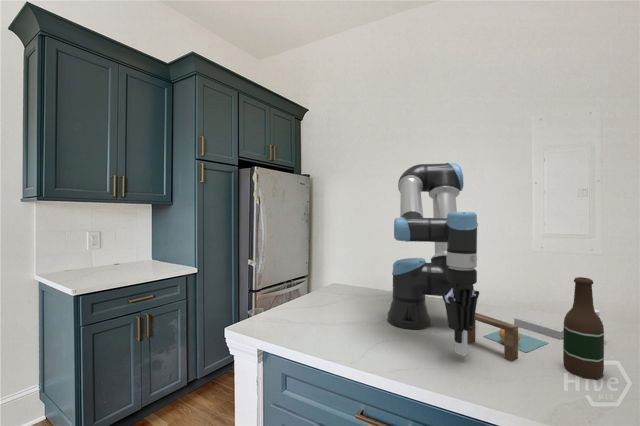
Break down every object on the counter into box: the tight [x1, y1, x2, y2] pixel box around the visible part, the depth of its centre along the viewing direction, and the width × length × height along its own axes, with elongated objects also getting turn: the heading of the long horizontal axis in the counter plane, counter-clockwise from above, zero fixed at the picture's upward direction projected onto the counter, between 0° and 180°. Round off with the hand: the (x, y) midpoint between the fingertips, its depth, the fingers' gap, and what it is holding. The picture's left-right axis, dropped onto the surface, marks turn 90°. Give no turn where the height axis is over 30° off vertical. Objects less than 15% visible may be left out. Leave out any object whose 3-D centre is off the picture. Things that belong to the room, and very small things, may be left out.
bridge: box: [467, 312, 519, 362], centre depth 89 cm, size 3×14×9 cm, turn 30°
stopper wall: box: [513, 317, 563, 340], centre depth 102 cm, size 14×2×2 cm, turn 29°
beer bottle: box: [562, 276, 605, 381], centre depth 77 cm, size 8×8×24 cm
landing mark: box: [482, 330, 549, 354], centre depth 96 cm, size 13×13×1 cm
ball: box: [498, 328, 521, 342], centre depth 93 cm, size 6×6×6 cm
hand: (461, 353), depth 82 cm, fingers closed
